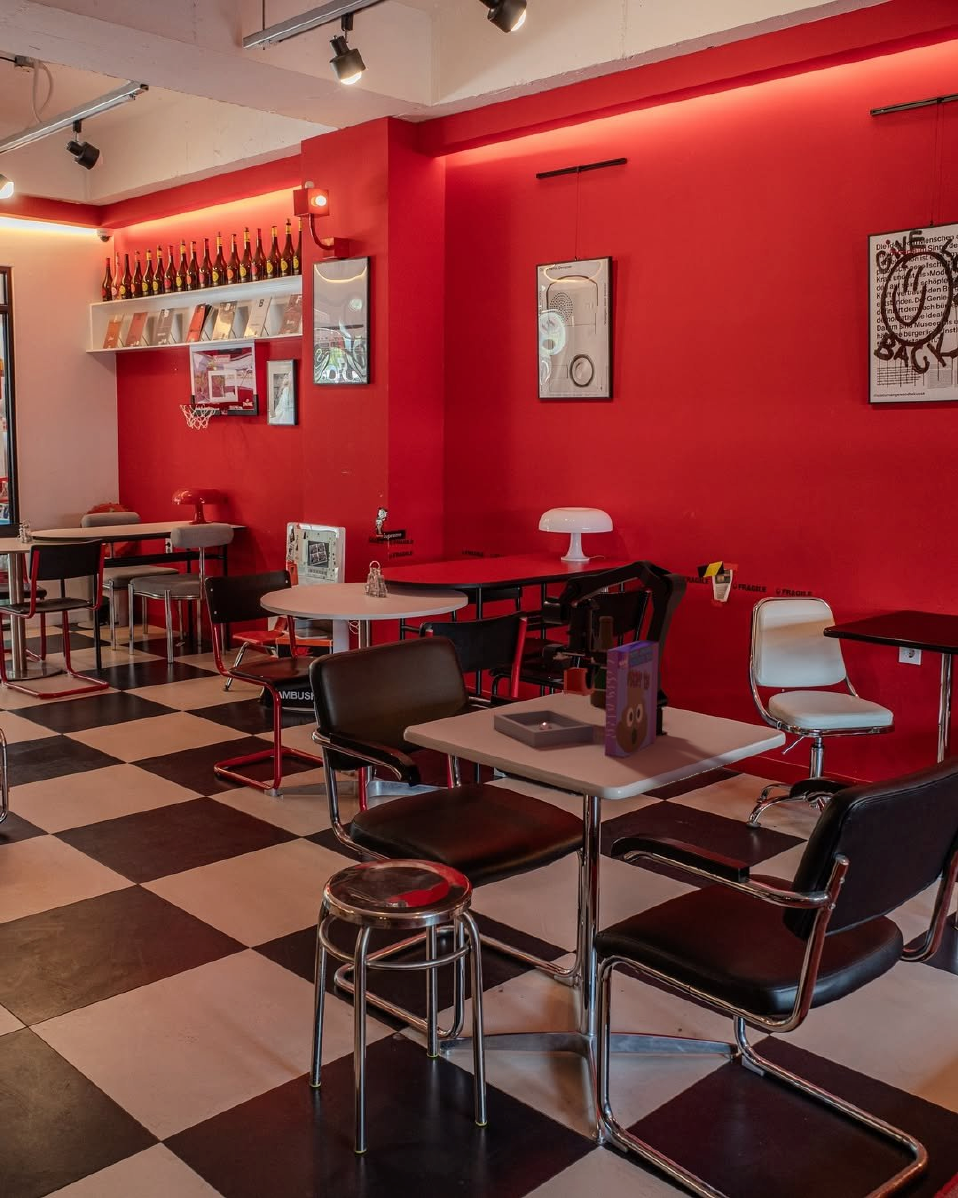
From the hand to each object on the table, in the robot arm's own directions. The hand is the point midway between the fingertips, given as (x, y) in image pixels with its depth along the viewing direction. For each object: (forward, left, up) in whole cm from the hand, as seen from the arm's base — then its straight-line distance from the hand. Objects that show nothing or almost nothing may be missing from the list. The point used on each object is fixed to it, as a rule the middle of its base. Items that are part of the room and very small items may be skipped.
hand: (579, 687), depth 284 cm
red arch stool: (0, 0, -2) cm, 2 cm away
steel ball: (-13, +17, -6) cm, 22 cm away
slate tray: (-9, +16, -9) cm, 20 cm away
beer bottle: (+13, -16, -9) cm, 23 cm away
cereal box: (-29, +4, -9) cm, 30 cm away
